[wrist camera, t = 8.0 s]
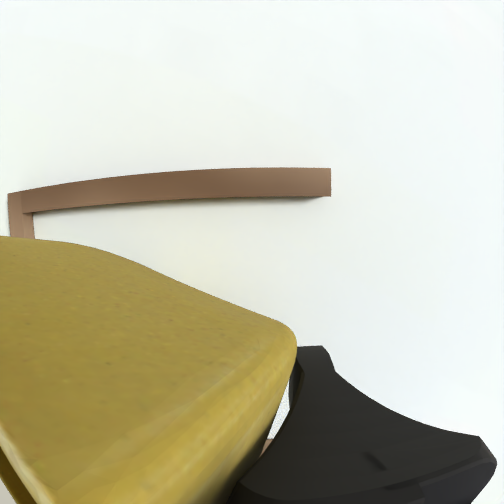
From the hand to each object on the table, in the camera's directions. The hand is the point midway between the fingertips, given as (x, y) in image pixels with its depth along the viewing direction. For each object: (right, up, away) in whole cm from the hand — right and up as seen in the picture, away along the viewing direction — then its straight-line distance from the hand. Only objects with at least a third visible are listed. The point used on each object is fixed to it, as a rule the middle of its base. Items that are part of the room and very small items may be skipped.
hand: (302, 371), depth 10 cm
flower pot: (-3, 0, +2) cm, 4 cm away
